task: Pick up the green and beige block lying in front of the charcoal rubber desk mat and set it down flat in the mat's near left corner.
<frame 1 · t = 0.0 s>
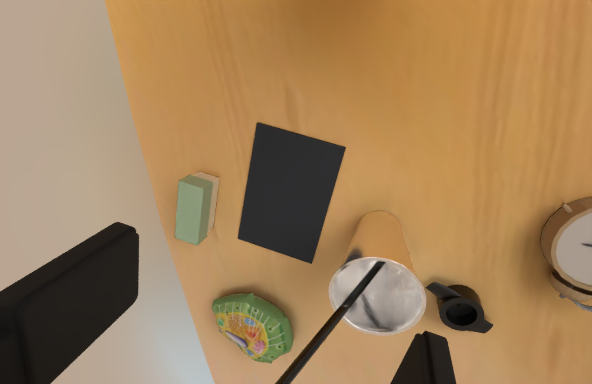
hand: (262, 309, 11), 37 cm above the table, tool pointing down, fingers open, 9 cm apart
educational model: (260, 315, 61), on the table
alarm clock: (589, 247, 42), on the table
desk mat: (286, 197, 50), on the table
duct tape: (457, 300, 50), on the table
green and beige block: (206, 200, 54), on the table
metal cup with straw: (374, 230, 49), on the table
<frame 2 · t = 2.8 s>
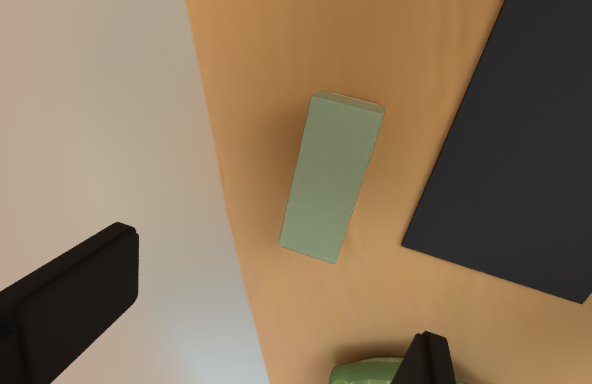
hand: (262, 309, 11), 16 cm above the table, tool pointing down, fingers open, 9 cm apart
desk mat: (560, 146, 20), on the table
green and beige block: (337, 161, 25), on the table
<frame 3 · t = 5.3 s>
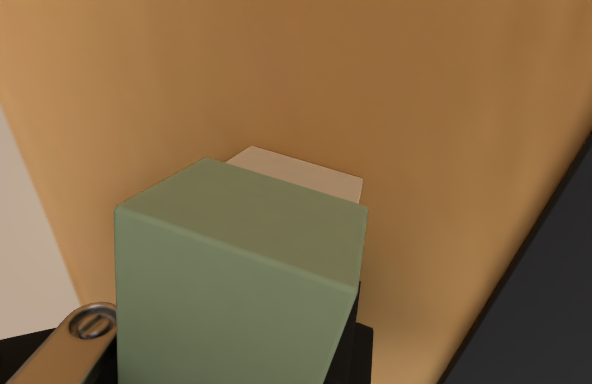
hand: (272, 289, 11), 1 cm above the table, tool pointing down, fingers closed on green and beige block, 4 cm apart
green and beige block: (277, 281, 12), on the table, touching gripper
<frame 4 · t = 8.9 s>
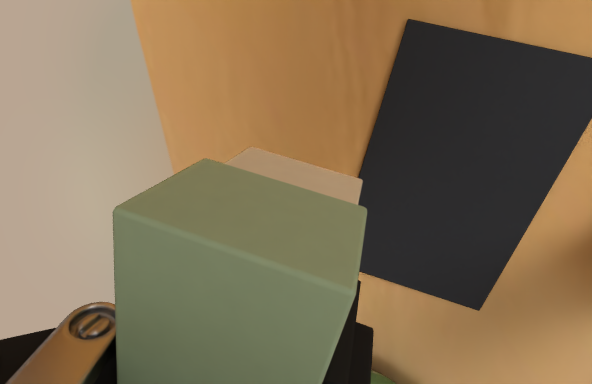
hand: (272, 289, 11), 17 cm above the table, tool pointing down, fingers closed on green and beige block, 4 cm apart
desk mat: (447, 182, 25), on the table
green and beige block: (276, 281, 12), point 16 cm above the table, touching gripper
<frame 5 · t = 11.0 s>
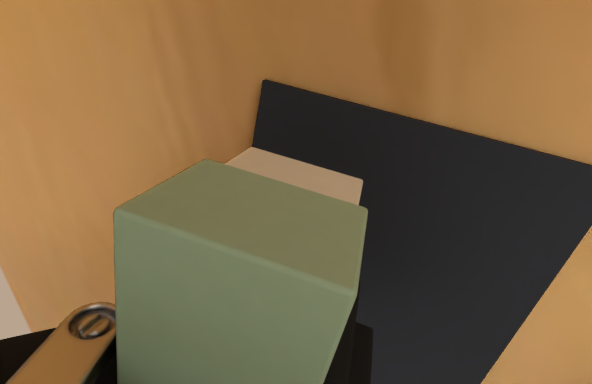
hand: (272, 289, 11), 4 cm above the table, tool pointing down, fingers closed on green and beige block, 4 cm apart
desk mat: (352, 317, 16), on the table
green and beige block: (276, 282, 12), point 4 cm above the table, touching gripper
when the fingers open (1 cm above the table, at t = 12.3 s): green and beige block stays where it is, resting on desk mat.
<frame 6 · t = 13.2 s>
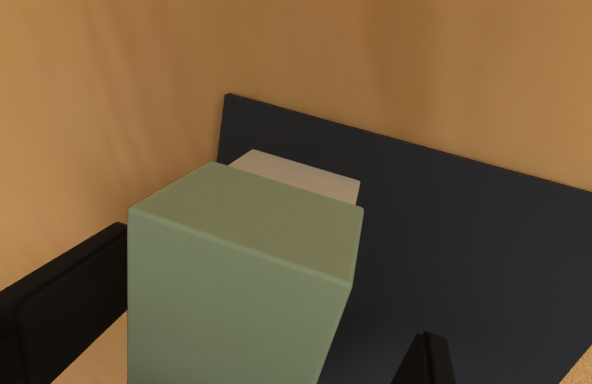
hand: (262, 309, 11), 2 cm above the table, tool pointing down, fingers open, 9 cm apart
desk mat: (341, 375, 14), on the table
green and beige block: (277, 279, 12), resting on desk mat
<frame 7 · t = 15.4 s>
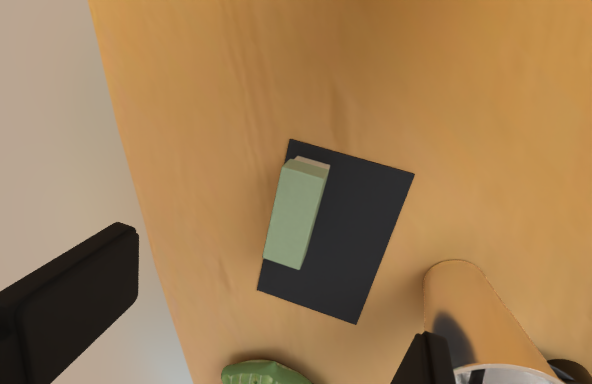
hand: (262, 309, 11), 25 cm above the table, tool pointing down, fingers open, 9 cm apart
desk mat: (326, 238, 37), on the table
duct tape: (558, 378, 37), on the table
green and beige block: (303, 200, 36), resting on desk mat
metal cup with straw: (446, 284, 36), on the table
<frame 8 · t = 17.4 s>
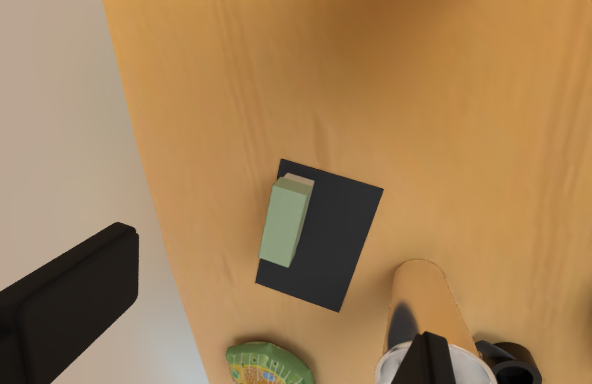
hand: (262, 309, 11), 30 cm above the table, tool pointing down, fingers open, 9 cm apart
educational model: (278, 362, 55), on the table
desk mat: (312, 240, 45), on the table
duct tape: (506, 358, 44), on the table
green and beige block: (293, 209, 43), resting on desk mat
metal cup with straw: (413, 279, 43), on the table
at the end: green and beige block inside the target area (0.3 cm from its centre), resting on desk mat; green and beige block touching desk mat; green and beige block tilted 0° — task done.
